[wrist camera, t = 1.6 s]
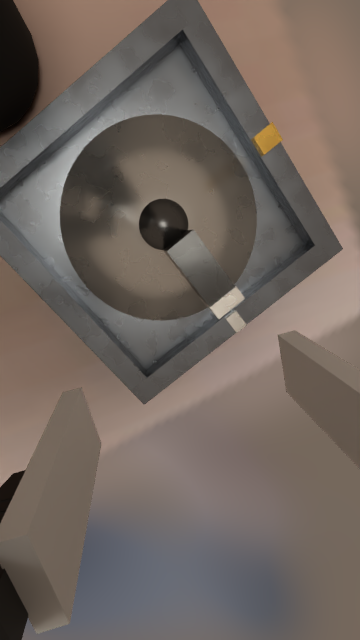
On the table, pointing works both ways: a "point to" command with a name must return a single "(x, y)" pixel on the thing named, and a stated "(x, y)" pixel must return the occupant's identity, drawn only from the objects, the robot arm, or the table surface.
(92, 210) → the dial
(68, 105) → the grey square tray
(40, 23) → the table surface
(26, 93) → the coffee jar
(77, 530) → the robot arm
